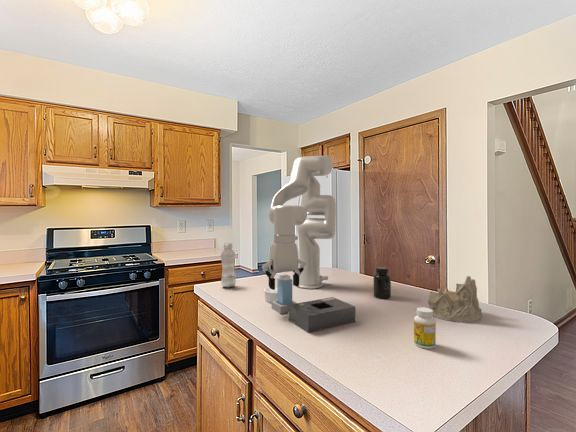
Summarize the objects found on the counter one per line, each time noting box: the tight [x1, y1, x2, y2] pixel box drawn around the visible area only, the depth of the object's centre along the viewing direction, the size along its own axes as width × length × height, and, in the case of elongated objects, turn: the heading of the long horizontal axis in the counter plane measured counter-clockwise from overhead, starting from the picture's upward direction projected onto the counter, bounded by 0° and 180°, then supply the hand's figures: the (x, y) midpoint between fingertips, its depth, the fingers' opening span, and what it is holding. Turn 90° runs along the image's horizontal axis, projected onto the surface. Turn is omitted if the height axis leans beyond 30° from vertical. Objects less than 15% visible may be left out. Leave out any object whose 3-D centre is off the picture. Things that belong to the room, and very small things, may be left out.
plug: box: [276, 274, 293, 305], centre depth 114 cm, size 4×4×12 cm
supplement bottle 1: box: [373, 266, 392, 300], centre depth 129 cm, size 7×7×12 cm
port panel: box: [288, 296, 356, 333], centre depth 102 cm, size 18×12×5 cm, turn 119°
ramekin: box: [263, 286, 277, 304], centre depth 126 cm, size 9×9×4 cm
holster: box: [271, 299, 297, 315], centre depth 114 cm, size 7×7×2 cm
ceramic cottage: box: [427, 275, 483, 324], centre depth 108 cm, size 16×16×15 cm
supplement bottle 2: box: [413, 307, 437, 350], centre depth 85 cm, size 5×5×10 cm
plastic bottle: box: [220, 242, 237, 288], centre depth 145 cm, size 6×7×20 cm
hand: (284, 287), depth 113 cm, fingers open, 9 cm apart
